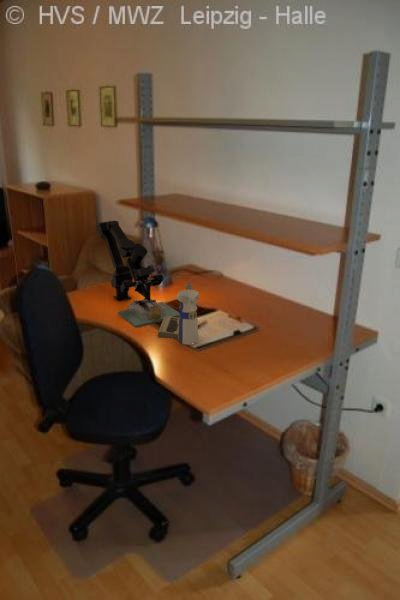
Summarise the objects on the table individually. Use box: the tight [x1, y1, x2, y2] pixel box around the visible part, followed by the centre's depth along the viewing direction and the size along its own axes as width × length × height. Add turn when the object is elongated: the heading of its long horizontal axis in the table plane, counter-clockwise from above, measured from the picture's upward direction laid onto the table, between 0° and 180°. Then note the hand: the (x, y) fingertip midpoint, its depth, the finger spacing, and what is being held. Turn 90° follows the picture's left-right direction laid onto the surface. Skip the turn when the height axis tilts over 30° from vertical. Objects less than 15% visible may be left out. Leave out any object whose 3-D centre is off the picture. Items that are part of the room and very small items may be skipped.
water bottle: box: [176, 281, 200, 346], centre depth 176 cm, size 8×9×25 cm
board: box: [117, 301, 180, 329], centre depth 204 cm, size 18×22×1 cm
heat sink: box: [128, 297, 166, 321], centre depth 202 cm, size 15×11×6 cm
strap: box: [137, 298, 157, 303], centre depth 202 cm, size 12×3×1 cm, turn 33°
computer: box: [157, 316, 179, 339], centre depth 190 cm, size 16×8×3 cm, turn 175°
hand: (149, 300), depth 199 cm, fingers closed, pressing on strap
